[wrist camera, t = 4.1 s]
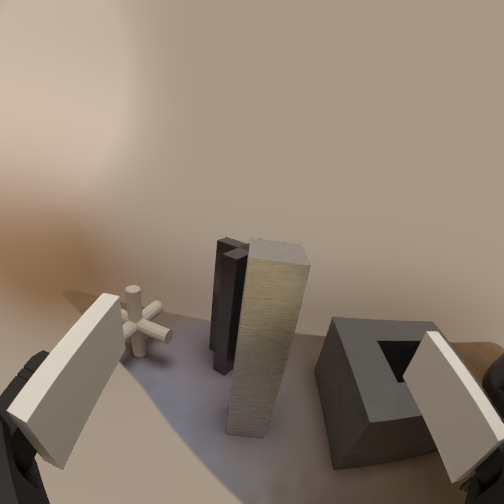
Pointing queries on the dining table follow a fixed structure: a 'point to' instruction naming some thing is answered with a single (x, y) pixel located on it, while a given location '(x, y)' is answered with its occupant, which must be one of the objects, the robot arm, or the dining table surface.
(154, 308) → the pipe connector
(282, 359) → the square bit
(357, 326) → the bore block
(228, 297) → the cross bit
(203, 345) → the dining table surface
